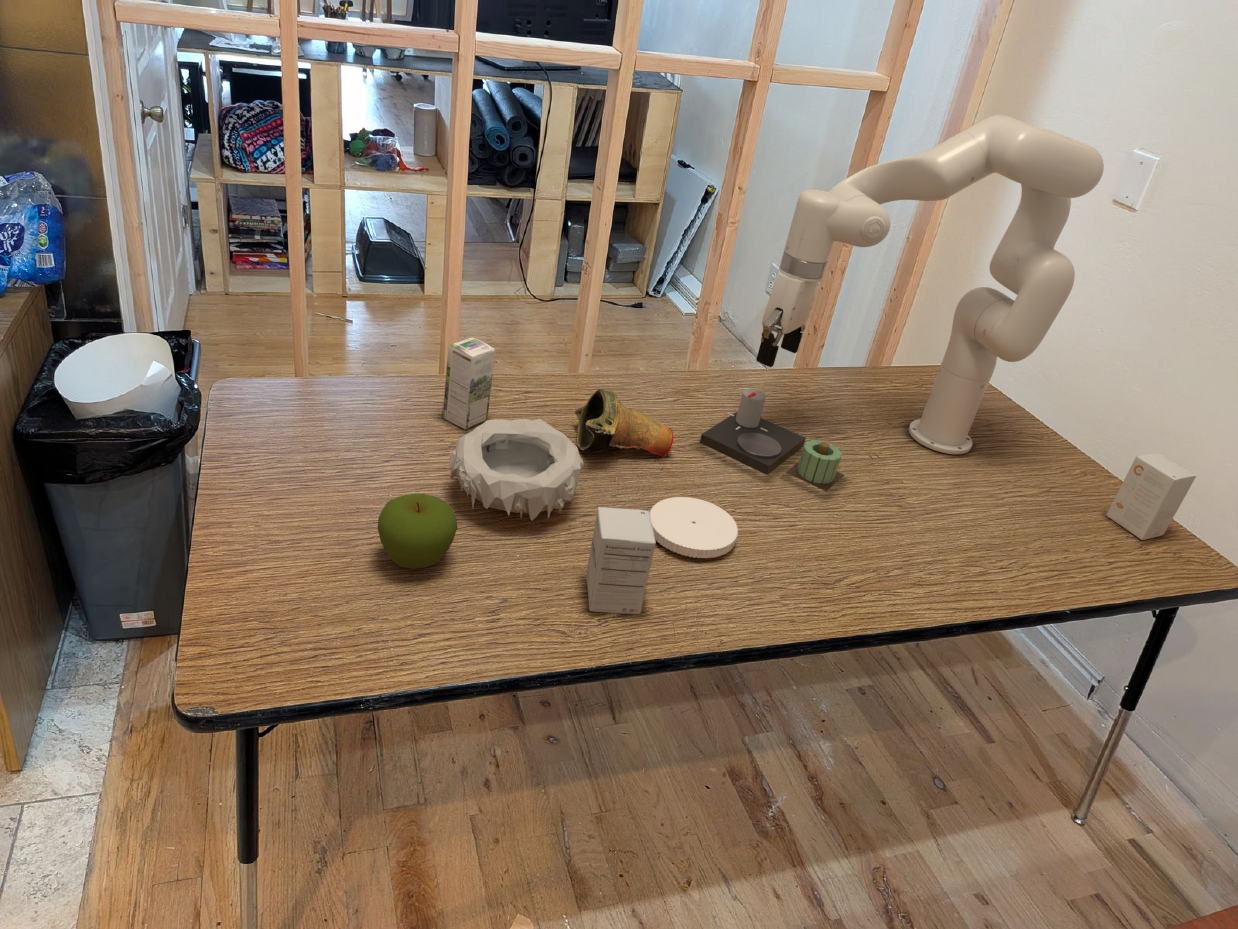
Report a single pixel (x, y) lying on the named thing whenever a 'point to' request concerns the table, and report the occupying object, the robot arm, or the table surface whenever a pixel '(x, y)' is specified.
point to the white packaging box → (620, 560)
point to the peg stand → (793, 471)
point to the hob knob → (750, 408)
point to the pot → (619, 427)
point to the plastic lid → (693, 527)
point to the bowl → (517, 466)
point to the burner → (759, 445)
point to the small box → (1150, 495)
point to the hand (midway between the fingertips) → (776, 356)
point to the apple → (417, 529)
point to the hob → (729, 431)
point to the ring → (819, 463)
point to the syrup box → (468, 382)
